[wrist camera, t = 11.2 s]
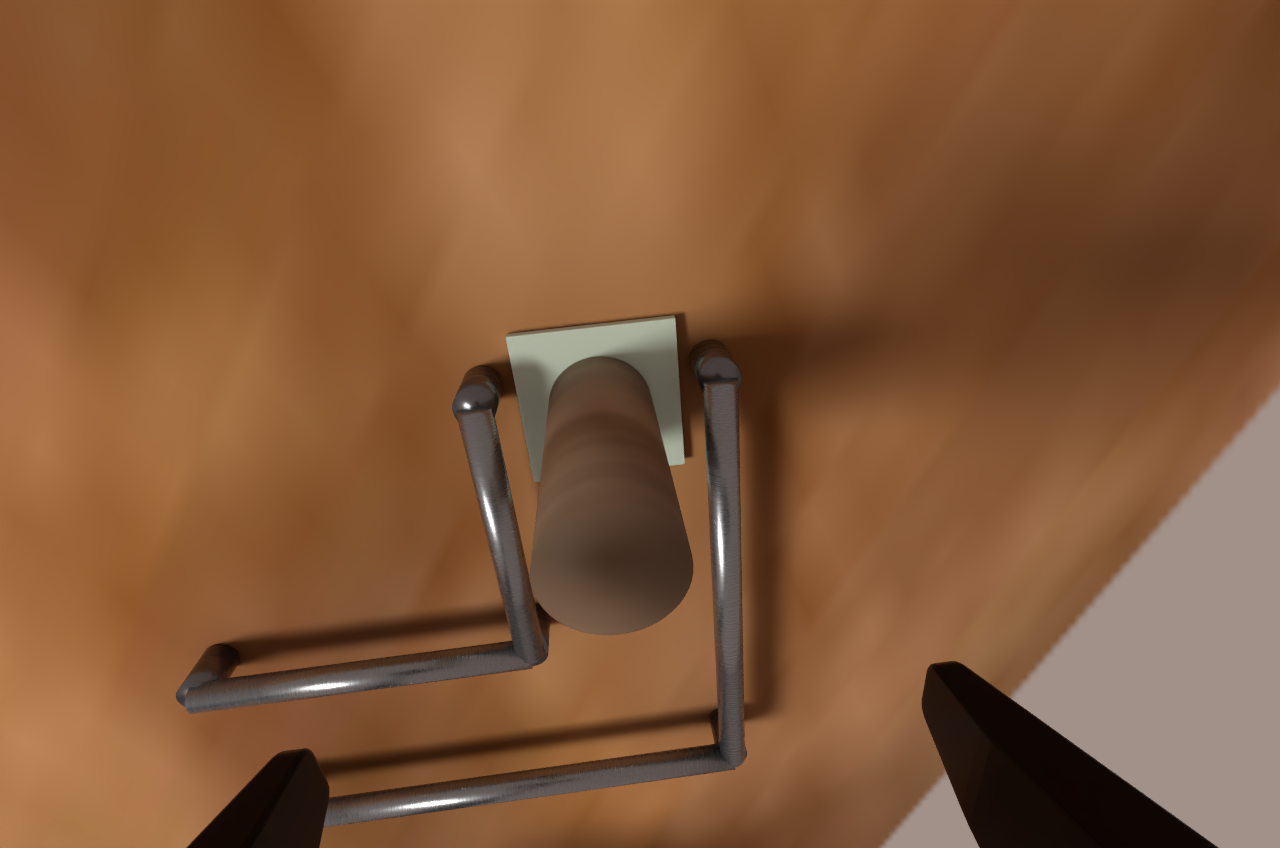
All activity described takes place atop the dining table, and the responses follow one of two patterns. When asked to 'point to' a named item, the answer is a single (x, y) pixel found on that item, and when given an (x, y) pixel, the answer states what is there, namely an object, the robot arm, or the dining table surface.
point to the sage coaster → (629, 341)
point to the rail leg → (220, 692)
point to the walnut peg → (607, 506)
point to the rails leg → (723, 477)
